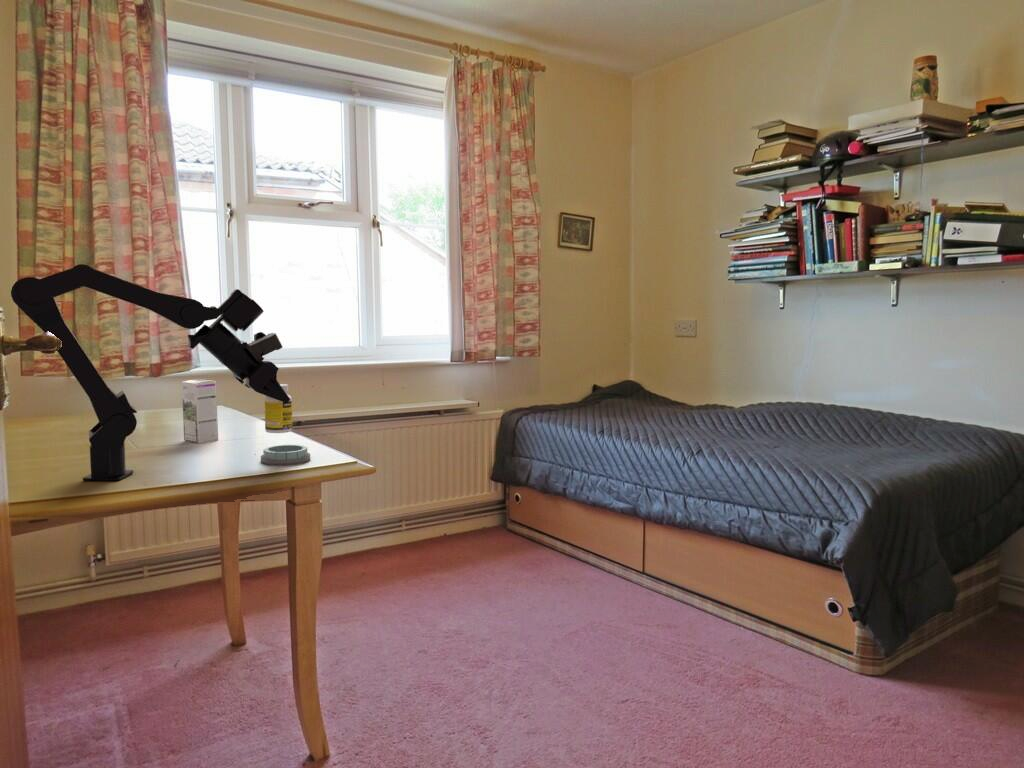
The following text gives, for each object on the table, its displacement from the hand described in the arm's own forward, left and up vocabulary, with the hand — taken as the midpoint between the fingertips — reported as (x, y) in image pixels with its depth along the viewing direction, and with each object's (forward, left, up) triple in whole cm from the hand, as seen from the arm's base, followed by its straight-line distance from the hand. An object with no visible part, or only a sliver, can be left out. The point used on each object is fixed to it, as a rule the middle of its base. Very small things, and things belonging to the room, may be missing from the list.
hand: (285, 399), depth 149 cm
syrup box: (+22, +25, -13) cm, 36 cm away
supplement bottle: (-1, +1, -7) cm, 7 cm away
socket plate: (0, 0, -13) cm, 13 cm away
